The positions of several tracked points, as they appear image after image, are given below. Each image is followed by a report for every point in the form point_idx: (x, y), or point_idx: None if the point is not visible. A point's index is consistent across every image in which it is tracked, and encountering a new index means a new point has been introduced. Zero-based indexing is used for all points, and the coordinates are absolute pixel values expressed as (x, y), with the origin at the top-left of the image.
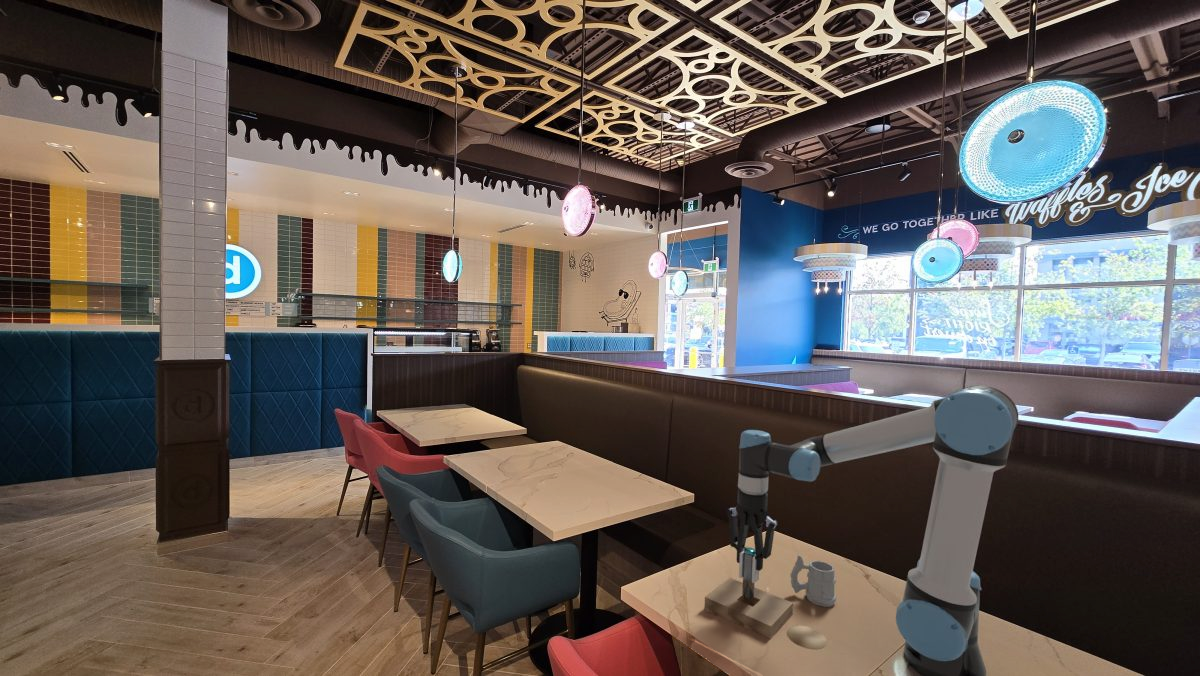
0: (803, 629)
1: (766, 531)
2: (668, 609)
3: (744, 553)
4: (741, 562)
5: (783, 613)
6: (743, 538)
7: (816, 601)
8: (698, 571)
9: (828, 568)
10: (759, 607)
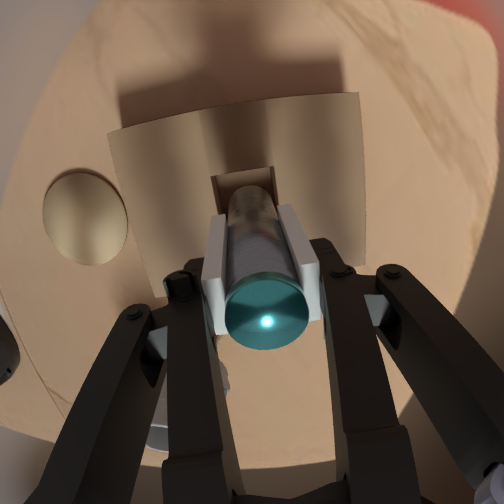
0: (105, 243)
1: (76, 485)
2: (404, 22)
3: (288, 274)
4: (292, 236)
5: (133, 229)
6: (332, 352)
7: None
8: (447, 252)
9: (163, 441)
10: (194, 191)
